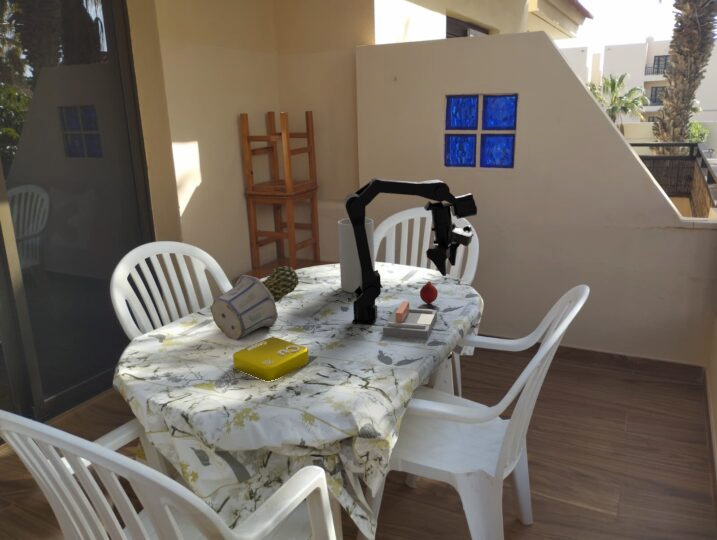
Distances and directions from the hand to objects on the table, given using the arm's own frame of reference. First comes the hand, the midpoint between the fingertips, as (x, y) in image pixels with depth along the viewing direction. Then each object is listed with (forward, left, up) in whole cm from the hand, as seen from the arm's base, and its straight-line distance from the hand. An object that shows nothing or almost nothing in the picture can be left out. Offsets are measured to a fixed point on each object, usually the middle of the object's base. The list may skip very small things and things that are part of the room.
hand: (449, 270), depth 177 cm
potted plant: (-55, -20, -15) cm, 60 cm away
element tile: (-40, -45, -15) cm, 62 cm away
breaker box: (-10, -12, -14) cm, 21 cm away
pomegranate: (-8, +8, -15) cm, 18 cm away
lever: (-12, -12, -11) cm, 21 cm away
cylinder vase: (-36, +20, -15) cm, 43 cm away
